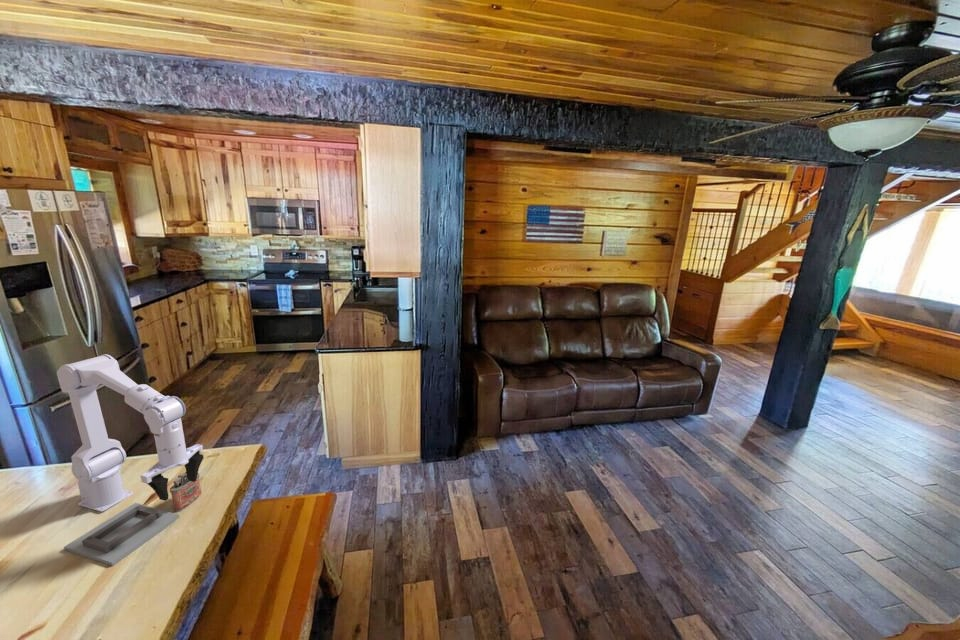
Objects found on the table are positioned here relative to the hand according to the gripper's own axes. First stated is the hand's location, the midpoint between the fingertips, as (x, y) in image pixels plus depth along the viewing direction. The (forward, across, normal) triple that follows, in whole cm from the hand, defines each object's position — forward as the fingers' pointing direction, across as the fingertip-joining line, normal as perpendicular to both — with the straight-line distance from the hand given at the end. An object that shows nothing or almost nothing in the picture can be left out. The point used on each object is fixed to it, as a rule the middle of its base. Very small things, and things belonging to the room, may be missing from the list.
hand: (178, 489), depth 101 cm
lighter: (+11, +6, +6) cm, 14 cm away
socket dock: (+11, -7, +11) cm, 17 cm away
